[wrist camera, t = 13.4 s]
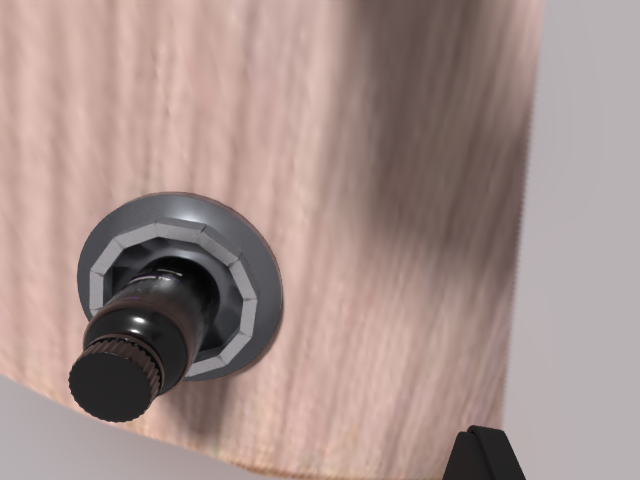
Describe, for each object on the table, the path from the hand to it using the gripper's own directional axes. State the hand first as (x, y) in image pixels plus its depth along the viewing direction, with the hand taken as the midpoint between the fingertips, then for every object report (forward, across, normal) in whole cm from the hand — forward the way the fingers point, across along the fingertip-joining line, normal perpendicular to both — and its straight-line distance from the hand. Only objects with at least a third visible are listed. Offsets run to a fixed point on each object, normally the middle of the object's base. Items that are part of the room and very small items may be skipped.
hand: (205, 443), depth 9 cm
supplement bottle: (+27, +8, +12) cm, 31 cm away
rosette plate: (+28, +8, +12) cm, 32 cm away
